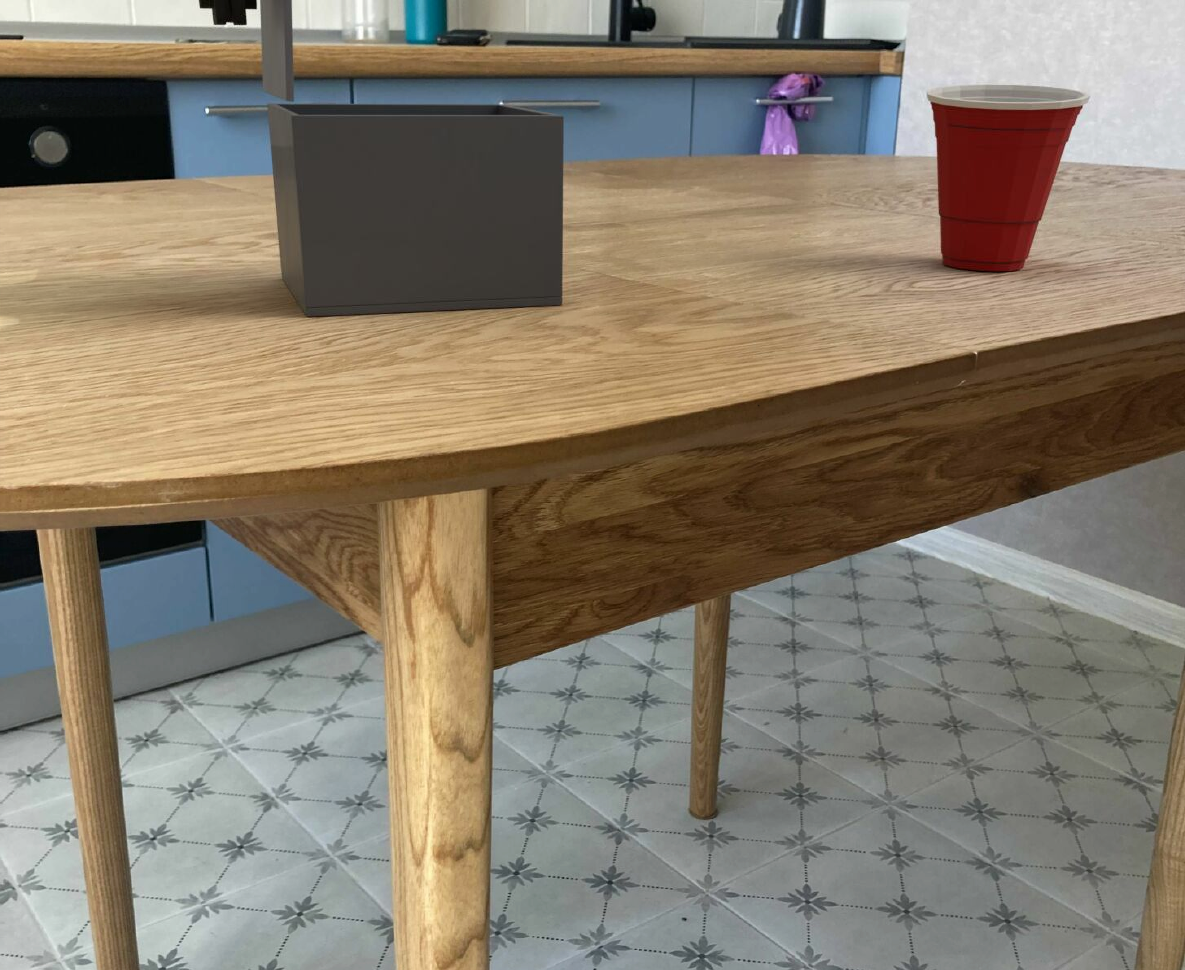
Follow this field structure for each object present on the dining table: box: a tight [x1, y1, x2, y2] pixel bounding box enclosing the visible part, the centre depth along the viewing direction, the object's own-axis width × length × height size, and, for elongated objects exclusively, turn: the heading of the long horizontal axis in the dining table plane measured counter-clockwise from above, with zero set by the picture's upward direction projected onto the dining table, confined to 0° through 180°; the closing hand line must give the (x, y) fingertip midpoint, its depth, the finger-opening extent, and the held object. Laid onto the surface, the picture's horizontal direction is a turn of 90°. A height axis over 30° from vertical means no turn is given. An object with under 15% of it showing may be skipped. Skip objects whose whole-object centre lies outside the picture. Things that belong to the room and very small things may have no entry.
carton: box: [266, 102, 565, 318], centre depth 76 cm, size 15×13×10 cm
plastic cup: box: [926, 84, 1091, 272], centre depth 88 cm, size 11×11×12 cm
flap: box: [259, 0, 295, 103], centre depth 70 cm, size 7×13×1 cm
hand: (230, 23), depth 69 cm, fingers closed
